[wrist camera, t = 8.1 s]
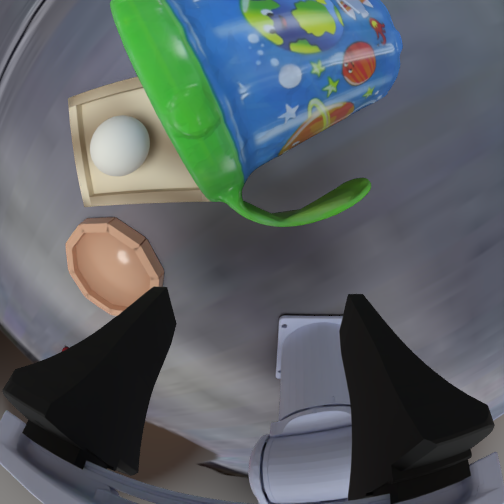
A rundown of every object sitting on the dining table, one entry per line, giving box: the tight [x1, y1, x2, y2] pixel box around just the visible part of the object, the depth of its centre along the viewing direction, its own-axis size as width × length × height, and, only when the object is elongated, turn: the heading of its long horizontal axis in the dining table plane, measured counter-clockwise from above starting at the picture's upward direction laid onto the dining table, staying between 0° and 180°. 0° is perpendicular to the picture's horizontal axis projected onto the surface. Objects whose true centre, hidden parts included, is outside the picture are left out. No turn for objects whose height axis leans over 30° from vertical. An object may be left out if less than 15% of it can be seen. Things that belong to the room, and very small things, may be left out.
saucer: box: [66, 217, 164, 316], centre depth 23 cm, size 10×10×1 cm
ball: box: [90, 115, 150, 176], centre depth 15 cm, size 4×4×4 cm
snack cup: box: [110, 0, 403, 227], centre depth 10 cm, size 16×10×10 cm
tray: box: [68, 77, 212, 207], centre depth 17 cm, size 9×11×1 cm
